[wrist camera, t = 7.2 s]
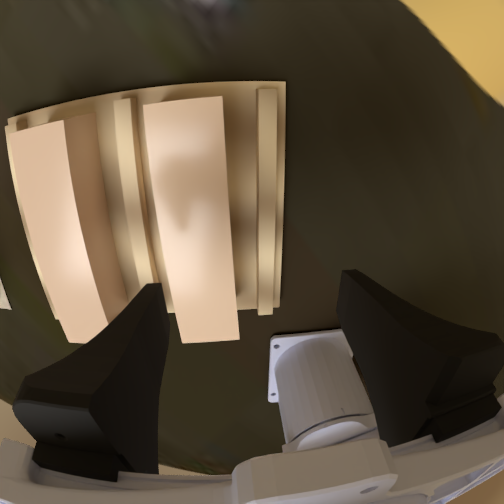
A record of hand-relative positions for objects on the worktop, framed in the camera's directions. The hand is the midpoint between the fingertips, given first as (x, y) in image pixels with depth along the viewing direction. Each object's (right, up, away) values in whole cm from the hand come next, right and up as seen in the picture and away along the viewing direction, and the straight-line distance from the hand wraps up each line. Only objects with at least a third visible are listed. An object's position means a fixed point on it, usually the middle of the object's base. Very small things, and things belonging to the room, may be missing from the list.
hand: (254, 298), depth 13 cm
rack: (-7, +5, +8) cm, 12 cm away
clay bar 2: (-3, +5, +7) cm, 9 cm away
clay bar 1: (-11, +4, +7) cm, 14 cm away
